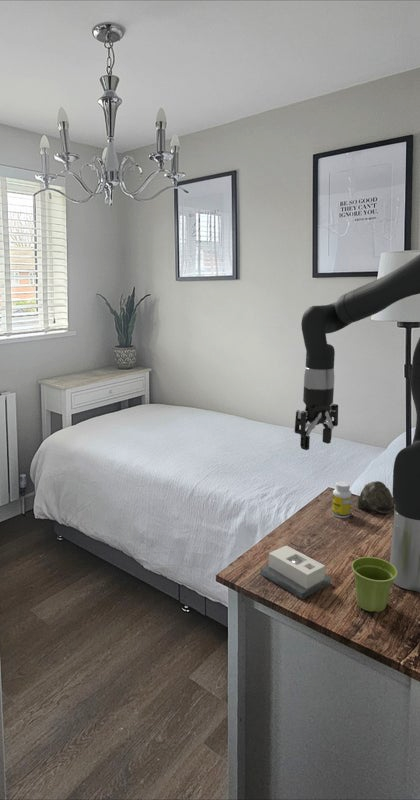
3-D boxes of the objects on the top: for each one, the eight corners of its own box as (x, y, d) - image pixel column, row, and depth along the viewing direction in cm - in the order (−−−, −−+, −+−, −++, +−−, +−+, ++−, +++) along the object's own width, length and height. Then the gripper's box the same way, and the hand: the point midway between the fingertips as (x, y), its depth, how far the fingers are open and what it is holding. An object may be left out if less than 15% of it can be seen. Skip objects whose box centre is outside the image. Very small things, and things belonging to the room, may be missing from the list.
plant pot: (402, 604, 113) (405, 568, 111) (380, 624, 107) (383, 586, 105) (363, 586, 120) (365, 552, 118) (340, 604, 113) (342, 568, 111)
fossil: (386, 518, 153) (372, 486, 154) (359, 523, 159) (346, 492, 160) (400, 505, 161) (387, 474, 161) (374, 510, 167) (361, 481, 168)
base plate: (331, 583, 121) (332, 565, 120) (301, 599, 115) (302, 581, 114) (289, 560, 131) (290, 544, 130) (260, 574, 125) (261, 557, 124)
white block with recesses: (268, 566, 125) (268, 553, 125) (285, 558, 129) (286, 545, 128) (306, 588, 116) (307, 574, 115) (324, 579, 120) (325, 565, 119)
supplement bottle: (328, 511, 158) (330, 481, 156) (344, 509, 160) (346, 479, 158) (337, 519, 153) (339, 488, 151) (353, 517, 155) (356, 486, 152)
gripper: (325, 379, 140) (322, 437, 144) (288, 386, 131) (286, 447, 135) (348, 383, 134) (344, 444, 138) (311, 391, 126) (308, 455, 129)
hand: (315, 445), depth 137 cm, fingers open, 8 cm apart
